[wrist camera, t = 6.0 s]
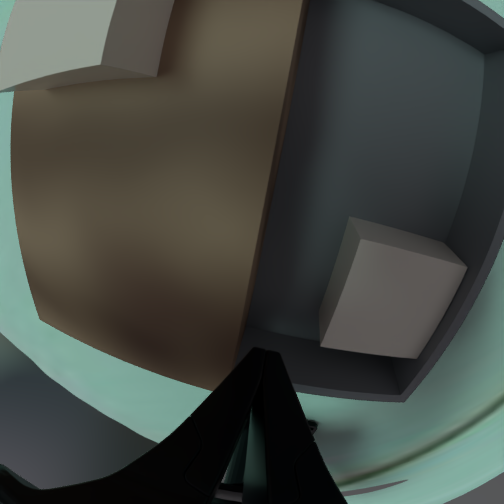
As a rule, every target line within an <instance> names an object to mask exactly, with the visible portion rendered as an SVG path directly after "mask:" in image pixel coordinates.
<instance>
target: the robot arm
mask: <svg viewBox="0 0 504 504" xmlns="http://www.w3.org/2000/svg"><path fill="white" fill-rule="evenodd" d="M316 430H317V424H316V423H314V422H307V419H306V417H305V414H304V412H303V409H302V407H301V404H300V402H299V399H298V397H297V394H296V392H295V389H294V387H293V384H292V382H291V379H290V376H289V374H288V371H287V369H286V366H285V364H284V361H283V359H282V356H281V354H280V352H278V351H273V350H267V351H266V349H264V348H259V347H252V348H251V350H250V351H249V352H248V353H247V354H246V355H245V356H244V358H243V359H242V360H241V361H240V362H239V363H238V364H237V365H236V367H235V368H234V369H233V370H232V371H231V372H230V373H229V374H228V375H227V377H226V378H225V379H224V380H223V381H222V382H221V383H220V384H219V385H218V386H217V387H216V389H215V390H214V391H213V392H212V393H211V394H210V395H209V396H208V397H207V398H206V399H205V400H204V401H203V402H202V403H201V405H200V406H199V407H198V408H197V409H196V410H195V411H194V412H193V413H192V414H191V415H190V416H189V417H188V418H187V419H186V420H185V421H184V422H183V423H182V424H181V425H180V426H179V427H178V428H177V429H176V430H174V431H173V432H172V433H171V434H170V435H169V436H168V437H166V438H165V439H164V440H163V441H161V442H160V443H159V444H158V445H156V446H155V447H153V448H152V449H150V450H149V451H148V452H146V453H145V454H143V455H142V456H140V457H139V458H137V459H136V460H134V461H133V462H131V463H130V464H128V465H127V466H125V467H124V468H122V469H121V470H118V471H117V472H115V473H113V474H110V475H108V476H106V477H103V478H100V479H96V480H91V481H87V482H83V483H79V484H74V485H69V486H63V487H57V488H52V489H39V488H38V487H36V486H34V485H33V484H31V483H30V482H28V481H27V480H25V479H23V478H22V477H21V476H19V475H17V474H16V473H15V472H13V471H12V470H11V469H9V468H8V467H6V466H4V465H2V464H0V504H348V503H347V502H346V500H345V498H344V497H343V495H342V494H341V492H340V490H339V488H338V487H337V485H336V483H335V482H334V480H333V478H332V476H331V474H330V473H329V471H328V469H327V467H326V465H325V463H324V461H323V458H322V456H321V454H320V452H319V449H318V447H317V444H316V442H314V440H315V439H314V437H313V434H314V432H315V431H316ZM227 468H228V469H227ZM226 470H227V473H226V477H225V480H224V483H221V481H222V479H223V477H224V474H225V472H226Z"/></svg>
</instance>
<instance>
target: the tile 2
mask: <svg viewBox="0 0 504 504" xmlns="http://www.w3.org/2000/svg"><path fill="white" fill-rule="evenodd" d="M467 268H468V267H467V266H466V265H465V264H464V263H463V262H462V261H461V260H460V259H459V258H458V256H457V255H456V254H455V253H454V252H453V251H452V250H451V249H450V248H449V247H448V246H447V245H446V244H445V243H443V242H440V241H437V240H434V239H430V238H427V237H424V236H420V235H417V234H413V233H410V232H407V231H403V230H399V229H396V228H392V227H389V226H385V225H381V224H377V223H374V222H370V221H366V220H362V219H358V218H354V217H350V216H349V219H348V223H347V226H346V230H345V233H344V236H343V240H342V243H341V246H340V250H339V253H338V256H337V259H336V262H335V265H334V269H333V272H332V275H331V278H330V281H329V284H328V287H327V289H326V292H325V295H324V298H323V301H322V304H321V307H320V309H319V329H320V346H321V347H327V348H333V349H339V350H346V351H353V352H360V353H367V354H375V355H383V356H392V357H402V358H412V359H417V358H418V356H419V355H420V353H421V352H422V350H423V349H424V347H425V346H426V344H427V343H428V341H429V340H430V338H431V336H432V335H433V333H434V331H435V330H436V328H437V326H438V325H439V323H440V321H441V319H442V318H443V316H444V314H445V312H446V310H447V309H448V307H449V305H450V303H451V301H452V299H453V297H454V295H455V293H456V291H457V289H458V287H459V285H460V283H461V281H462V279H463V277H464V275H465V272H466V270H467Z"/></svg>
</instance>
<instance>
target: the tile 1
mask: <svg viewBox="0 0 504 504" xmlns="http://www.w3.org/2000/svg"><path fill="white" fill-rule="evenodd" d="M173 4H174V0H16V1H15V4H14V6H13V9H12V12H11V15H10V18H9V21H8V24H7V28H6V31H5V35H4V38H3V42H2V46H1V50H0V93H2V92H13V91H27V90H46V89H51V88H56V87H61V86H67V85H73V84H79V83H86V82H94V81H103V80H113V79H126V78H146V77H157V73H158V68H159V62H160V57H161V53H162V48H163V43H164V39H165V35H166V30H167V26H168V22H169V18H170V15H171V11H172V7H173Z"/></svg>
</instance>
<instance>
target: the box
mask: <svg viewBox="0 0 504 504" xmlns="http://www.w3.org/2000/svg"><path fill="white" fill-rule="evenodd" d="M349 216H350V217H354V218H358V219H362V220H366V221H370V222H374V223H377V224H381V225H385V226H389V227H392V228H396V229H399V230H403V231H407V232H410V233H413V234H417V235H420V236H424V237H427V238H430V239H434V240H437V241H440V242H443V243H445V244H446V245H447V246H448V247H449V248H450V249H451V250H452V251H453V252H454V253H455V254H456V255H457V256H458V258H459V259H460V260H461V261H462V262H463V263H464V264H465V265H466V266H467V267H468V268H467V270H466V272H465V275H464V277H463V279H462V281H461V283H460V285H459V287H458V289H457V291H456V293H455V295H454V297H453V299H452V301H451V303H450V305H449V307H448V309H447V310H446V312H445V314H444V316H443V318H442V319H441V321H440V323H439V325H438V326H437V328H436V330H435V331H434V333H433V335H432V336H431V338H430V340H429V341H428V343H427V344H426V346H425V347H424V349H423V350H422V352H421V353H420V355H419V356H418V358H417V359H412V358H402V357H392V356H383V355H375V354H367V353H360V352H353V351H346V350H339V349H333V348H327V347H321V346H320V329H319V309H320V307H321V304H322V301H323V298H324V295H325V292H326V289H327V287H328V284H329V281H330V278H331V275H332V272H333V269H334V265H335V262H336V259H337V256H338V253H339V250H340V246H341V243H342V240H343V236H344V233H345V230H346V226H347V223H348V219H349ZM503 239H504V18H503V17H501V16H500V15H499V14H497V13H496V12H495V11H493V10H492V9H490V8H489V7H487V6H486V5H485V4H483V3H482V2H480V1H479V0H310V4H309V9H308V15H307V20H306V26H305V31H304V37H303V42H302V48H301V53H300V59H299V64H298V69H297V75H296V80H295V85H294V91H293V96H292V101H291V106H290V112H289V117H288V122H287V127H286V132H285V137H284V142H283V148H282V153H281V158H280V163H279V168H278V173H277V178H276V183H275V188H274V193H273V198H272V203H271V208H270V213H269V218H268V223H267V228H266V233H265V237H264V242H263V247H262V252H261V257H260V262H259V267H258V271H257V276H256V281H255V286H254V291H253V295H252V300H251V305H250V310H249V314H248V319H247V324H246V328H245V331H244V335H243V338H242V342H241V345H240V349H239V352H238V356H237V359H236V362H235V366H234V368H235V367H236V365H237V364H238V363H239V362H240V361H241V360H242V359H243V358H244V356H245V355H246V354H247V353H248V352H249V351H250V350H251V348H252V347H259V348H264V349H266V351H267V350H273V351H278V352H280V354H281V356H282V359H283V361H284V364H285V366H286V369H287V371H288V374H289V376H290V379H291V382H292V384H293V387H294V389H295V392H300V393H307V394H313V395H320V396H328V397H336V398H345V399H355V400H367V401H381V402H405V401H406V400H407V398H408V397H409V396H410V395H411V394H412V393H413V391H414V390H415V389H416V388H417V387H418V385H419V384H420V383H421V382H422V380H423V379H424V378H425V377H426V375H427V374H428V373H429V371H430V370H431V369H432V367H433V366H434V365H435V363H436V362H437V361H438V359H439V358H440V356H441V355H442V354H443V352H444V351H445V349H446V348H447V346H448V345H449V343H450V342H451V340H452V339H453V337H454V336H455V334H456V333H457V331H458V329H459V328H460V326H461V325H462V323H463V321H464V320H465V318H466V316H467V315H468V313H469V311H470V309H471V307H472V306H473V304H474V302H475V300H476V298H477V296H478V295H479V293H480V291H481V289H482V287H483V285H484V283H485V281H486V279H487V277H488V274H489V272H490V270H491V268H492V266H493V264H494V261H495V259H496V257H497V254H498V252H499V249H500V247H501V244H502V242H503Z"/></svg>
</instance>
